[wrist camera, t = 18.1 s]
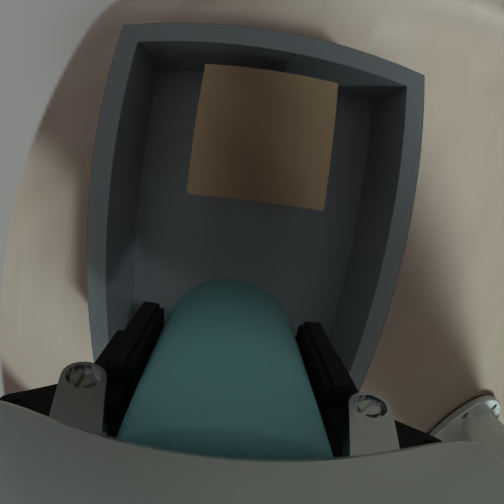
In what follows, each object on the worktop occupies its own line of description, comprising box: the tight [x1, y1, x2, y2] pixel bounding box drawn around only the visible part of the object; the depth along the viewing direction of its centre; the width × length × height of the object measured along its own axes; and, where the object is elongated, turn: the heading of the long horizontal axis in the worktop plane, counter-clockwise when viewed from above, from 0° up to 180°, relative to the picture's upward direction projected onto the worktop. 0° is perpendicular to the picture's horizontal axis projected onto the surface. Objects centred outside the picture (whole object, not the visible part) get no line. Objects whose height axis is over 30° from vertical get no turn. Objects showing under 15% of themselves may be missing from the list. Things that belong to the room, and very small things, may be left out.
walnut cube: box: [186, 64, 338, 211], centre depth 12 cm, size 5×5×5 cm
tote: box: [87, 23, 424, 392], centre depth 14 cm, size 18×14×5 cm
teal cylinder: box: [116, 279, 334, 459], centre depth 8 cm, size 5×5×7 cm
